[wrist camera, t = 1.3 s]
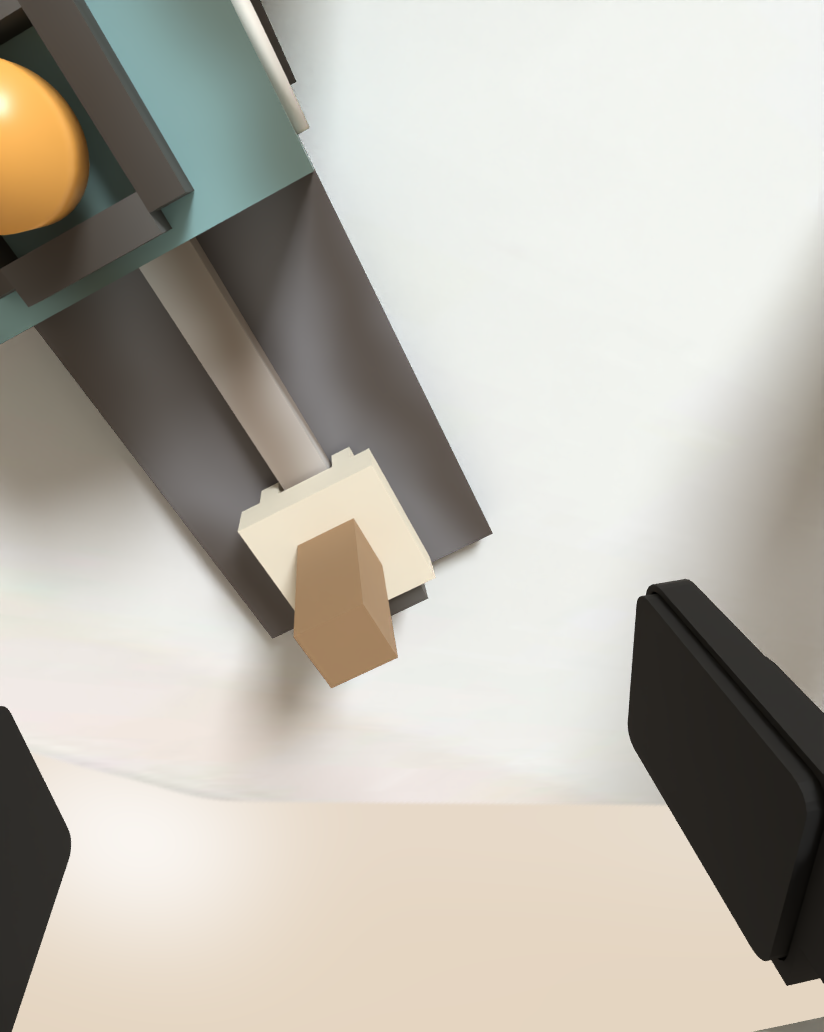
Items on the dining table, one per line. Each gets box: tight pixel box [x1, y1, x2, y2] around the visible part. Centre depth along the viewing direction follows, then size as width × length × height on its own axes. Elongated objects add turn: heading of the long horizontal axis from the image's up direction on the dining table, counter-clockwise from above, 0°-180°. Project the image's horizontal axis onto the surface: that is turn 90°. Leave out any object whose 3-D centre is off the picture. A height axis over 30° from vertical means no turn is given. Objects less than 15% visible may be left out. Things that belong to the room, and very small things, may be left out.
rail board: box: [0, 0, 493, 638], centre depth 28 cm, size 15×28×12 cm, turn 26°
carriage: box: [238, 447, 436, 688], centre depth 31 cm, size 7×7×10 cm
